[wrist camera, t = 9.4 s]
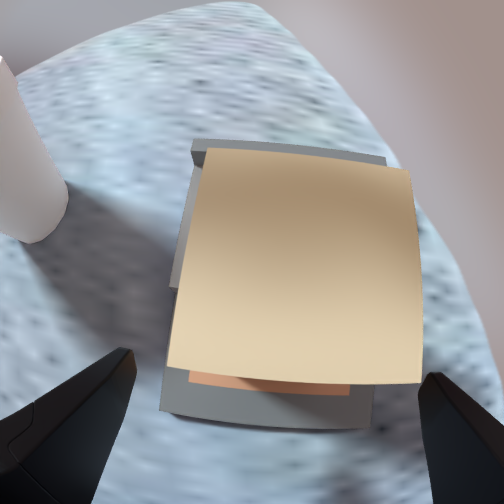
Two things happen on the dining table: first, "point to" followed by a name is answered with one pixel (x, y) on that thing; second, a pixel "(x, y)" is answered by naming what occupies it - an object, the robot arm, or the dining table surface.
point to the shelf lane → (249, 389)
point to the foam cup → (26, 171)
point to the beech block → (300, 272)
